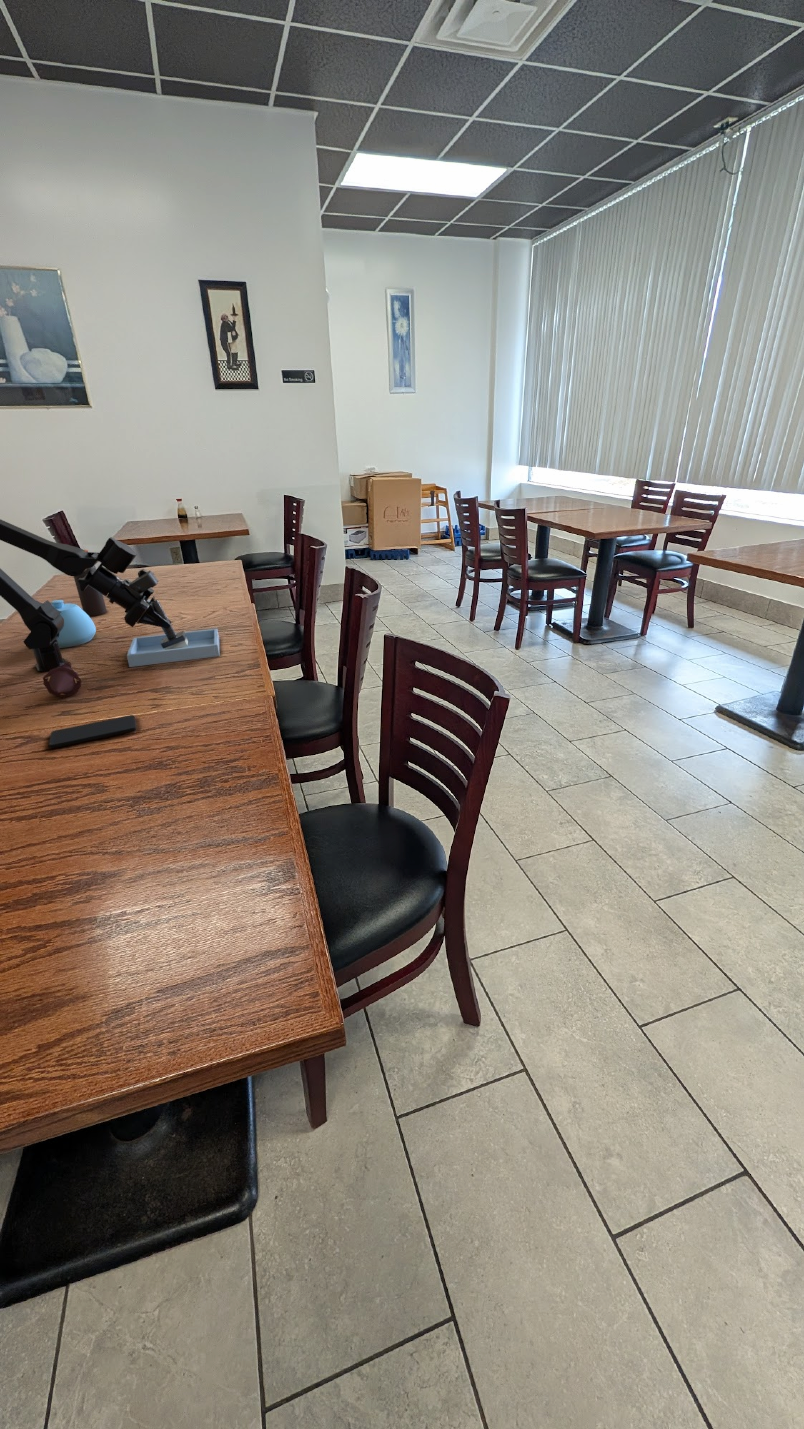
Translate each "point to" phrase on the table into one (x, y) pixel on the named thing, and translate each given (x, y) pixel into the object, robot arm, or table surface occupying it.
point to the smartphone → (92, 731)
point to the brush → (170, 632)
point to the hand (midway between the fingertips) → (170, 625)
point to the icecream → (62, 681)
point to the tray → (153, 653)
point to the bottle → (90, 597)
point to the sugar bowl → (74, 625)
